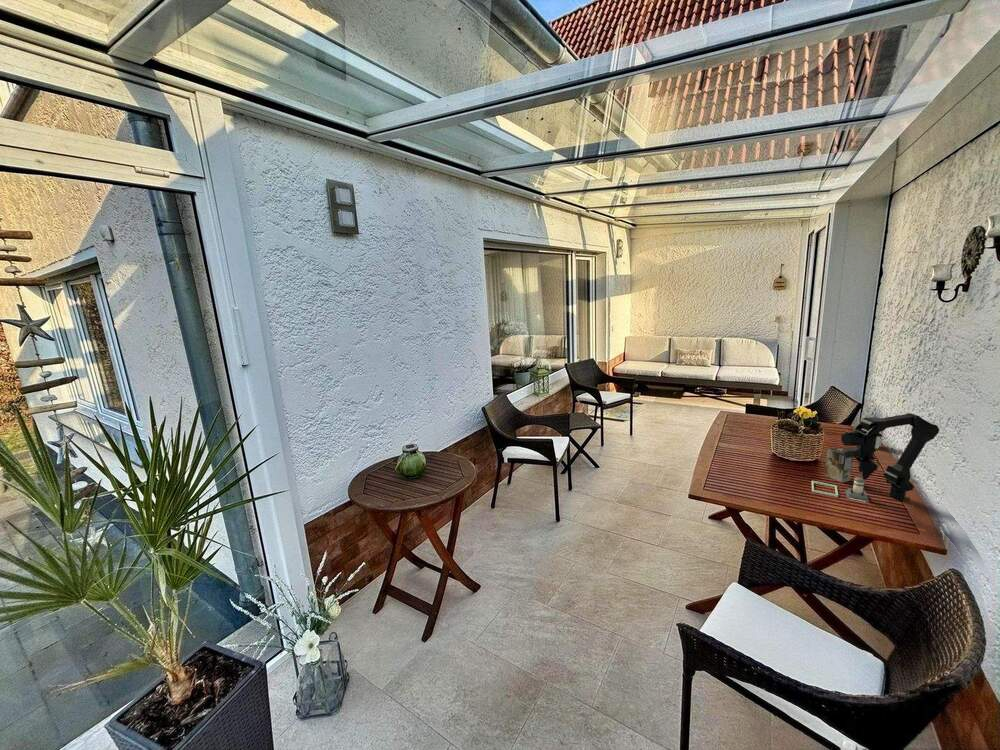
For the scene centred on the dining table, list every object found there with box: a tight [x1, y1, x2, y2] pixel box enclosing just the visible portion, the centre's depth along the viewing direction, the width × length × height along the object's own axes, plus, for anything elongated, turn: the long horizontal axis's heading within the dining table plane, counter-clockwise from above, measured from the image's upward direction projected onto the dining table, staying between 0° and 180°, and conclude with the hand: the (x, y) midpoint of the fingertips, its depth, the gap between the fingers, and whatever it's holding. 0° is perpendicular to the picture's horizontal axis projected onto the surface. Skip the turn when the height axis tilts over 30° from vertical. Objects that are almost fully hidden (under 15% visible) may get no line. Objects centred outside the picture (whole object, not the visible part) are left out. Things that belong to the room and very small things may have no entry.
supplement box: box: [862, 429, 884, 449], centre depth 258 cm, size 9×9×15 cm
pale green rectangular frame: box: [811, 480, 839, 498], centre depth 207 cm, size 12×10×2 cm
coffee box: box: [824, 446, 854, 483], centre depth 217 cm, size 9×6×16 cm
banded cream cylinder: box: [852, 476, 866, 496], centre depth 199 cm, size 4×4×9 cm
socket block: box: [844, 487, 870, 504], centre depth 200 cm, size 10×8×3 cm
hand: (862, 475), depth 197 cm, fingers open, 9 cm apart
